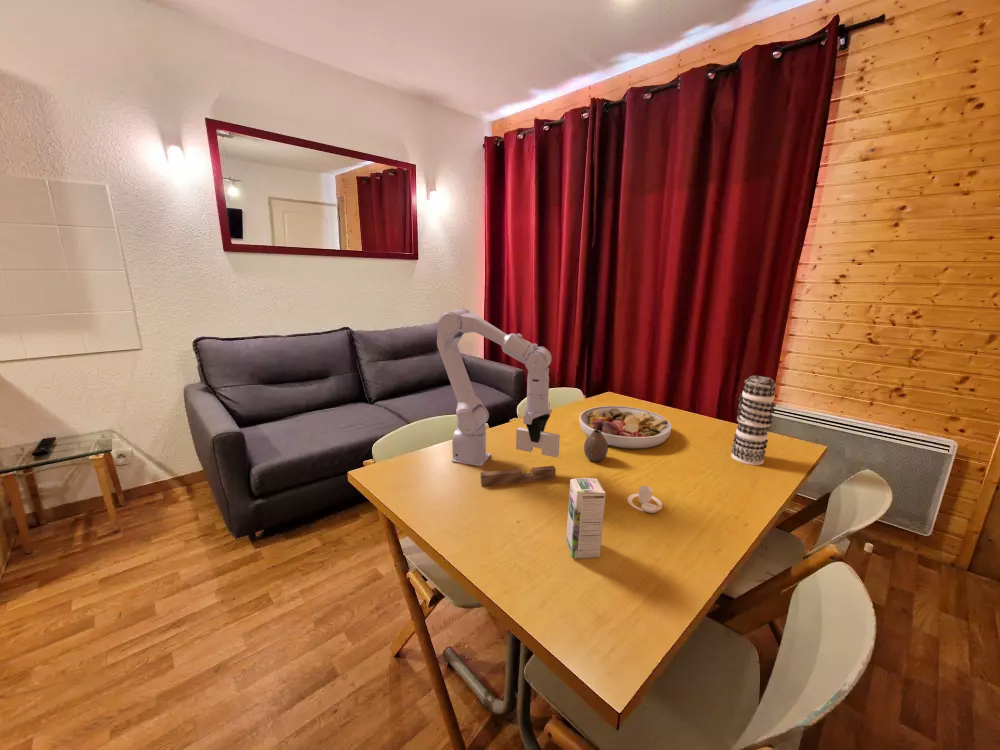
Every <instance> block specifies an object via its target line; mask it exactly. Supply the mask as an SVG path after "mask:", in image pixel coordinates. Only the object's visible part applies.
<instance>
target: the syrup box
mask: <svg viewBox="0 0 1000 750" xmlns="http://www.w3.org/2000/svg"><path fill="white" fill-rule="evenodd" d="M569 481H570V482H569V493H568V494H569V495H568V505H567V506H568V509H567V518H566V519H567V523H566V524H567V525H566V537H565V538H566V539H565V541H566V544H567V548H568V549H569V553H570V555H571V558H572V559H589V558H590V559H591V558H599V557H601V551H602V550H601V546H602V537H603V527H604V526H603V524H604V516H605V515H604V514H605V505H606V494H607V493H606V491H605V490H604V488H603V486H602V485H601V483H600V481H599V480H598V479H597V478H594V477H593V478H591V477H580V478H579V477H578V478H571V479H570V480H569Z"/></svg>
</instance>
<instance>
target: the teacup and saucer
mask: <svg viewBox="0 0 1000 750" xmlns="http://www.w3.org/2000/svg"><path fill="white" fill-rule="evenodd" d="M653 492H654V491H653V488H652V487H650V486H647V485H641V486H638V493H633V494H630V495H629V496H628V497H627V503H628V504H629V505H630V506H631V507H633V508H634V509H636V510H638V511H642V512H645V513H648V514H649V513H651V514H652V513H657V512H659V511H660V510H662V508H663V503H662V501H661V500H660V499H658V498H657V497H656V496H653ZM635 497H638V501H639V503H640V504H641V506H640V507H639V506H637V505H635V503H634V502H633V499H634V498H635ZM652 500H654V501H655V503H657V505H656V504H655V503H651V501H652Z"/></svg>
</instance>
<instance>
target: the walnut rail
mask: <svg viewBox="0 0 1000 750" xmlns="http://www.w3.org/2000/svg"><path fill="white" fill-rule="evenodd" d="M556 470H557V469H556V467H555V466H554V465H548V466H547V465H545V466H537V467H532V471H531V472H527V473H524V472H523V470H522V468H516V469H515V468H514V469H504V470H503V469H501V470H493V471H484V472H480V485H481V487H488V486H497V485H506V484H507V485H509V484H518V483H527V482H537V481H538V482H539V481H549V480H556Z"/></svg>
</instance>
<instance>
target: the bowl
mask: <svg viewBox="0 0 1000 750" xmlns="http://www.w3.org/2000/svg"><path fill="white" fill-rule="evenodd" d="M578 421H579V425H580V429H581V430H582V432H584V434H585V435H586V436H587V437H588V436H589V435H590V434H591V433H592V432H593V430H599V431H601V433H602V435H603V436H604V438H605V439H606V441H607V444H608V446H611V447H615V448H621V449H648V448H652V447H655V446H658V445H660V444H662V443H664V442H665V441H666V440H668V438H669V437H670V435H671V433H672V423H671V421H669V420H668V419H667V418H665V417H664V416H662V415H660V414H658V413H656V412H653V411H650V410H648V409H647V410H646V409H643V408H638V407H633V406H622V405H604V406H603V405H602V406H595V407H591V408H588V409H585V410H584V411H582V412H581V413H580V414H579V417H578Z"/></svg>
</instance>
